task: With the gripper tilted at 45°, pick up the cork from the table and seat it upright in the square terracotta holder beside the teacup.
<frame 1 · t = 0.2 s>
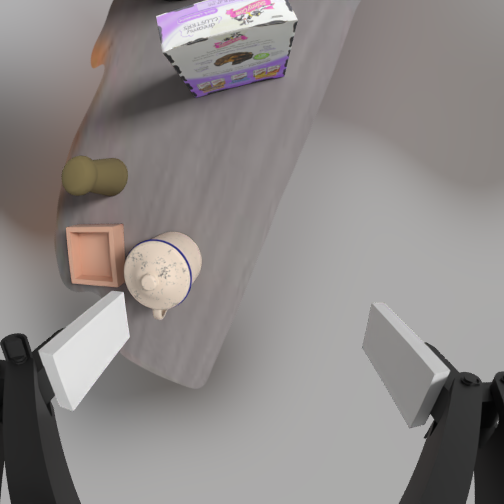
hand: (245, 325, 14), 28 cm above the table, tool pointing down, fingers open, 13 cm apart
candy box: (234, 71, 36), on the table
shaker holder: (100, 251, 42), on the table
teacup with lid: (173, 268, 43), on the table
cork: (111, 177, 40), on the table
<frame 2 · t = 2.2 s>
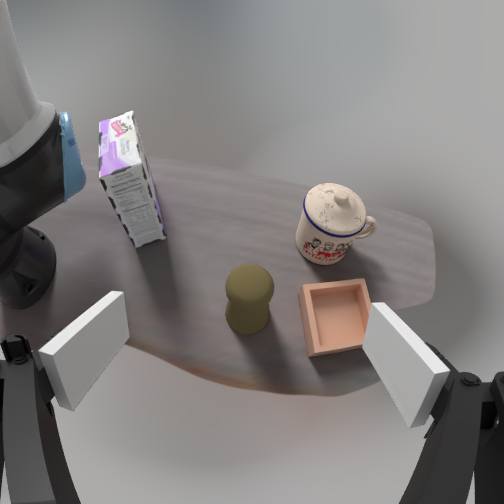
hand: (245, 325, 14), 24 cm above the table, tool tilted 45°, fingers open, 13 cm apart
candy box: (145, 212, 47), on the table
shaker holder: (334, 320, 38), on the table
teacup with lid: (329, 243, 45), on the table
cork: (247, 314, 39), on the table
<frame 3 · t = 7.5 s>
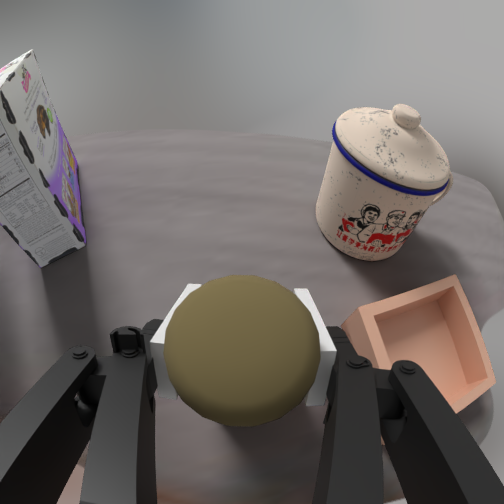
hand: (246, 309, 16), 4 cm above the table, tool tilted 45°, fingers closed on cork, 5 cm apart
candy box: (60, 209, 25), on the table
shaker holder: (412, 363, 17), on the table
teacup with lid: (374, 222, 24), on the table
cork: (244, 381, 17), on the table, touching gripper
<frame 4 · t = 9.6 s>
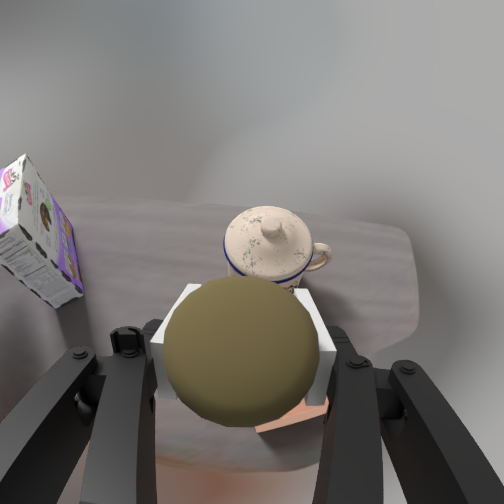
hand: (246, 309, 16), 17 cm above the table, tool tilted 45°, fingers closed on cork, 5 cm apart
candy box: (63, 265, 36), on the table
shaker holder: (285, 382, 29), on the table
teacup with lid: (275, 280, 36), on the table
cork: (244, 381, 17), point 13 cm above the table, touching gripper
when the fingers open (6 cm above the table, at t = 12.0 s): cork drops 1 cm, resting on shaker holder.
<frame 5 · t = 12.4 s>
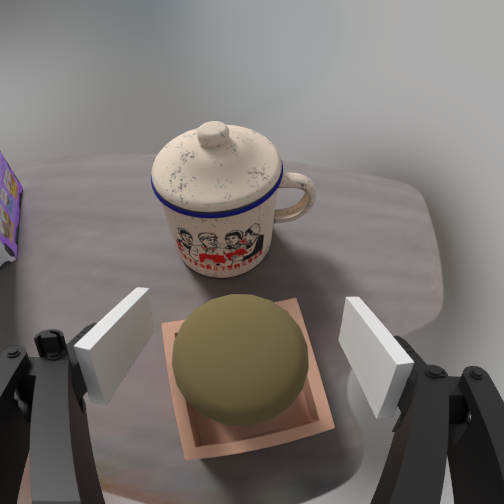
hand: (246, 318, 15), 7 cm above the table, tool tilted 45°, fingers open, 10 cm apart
candy box: (6, 229, 27), on the table
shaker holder: (244, 384, 19), on the table
teacup with lid: (239, 237, 26), on the table
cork: (243, 384, 18), point 1 cm above the table, touching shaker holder
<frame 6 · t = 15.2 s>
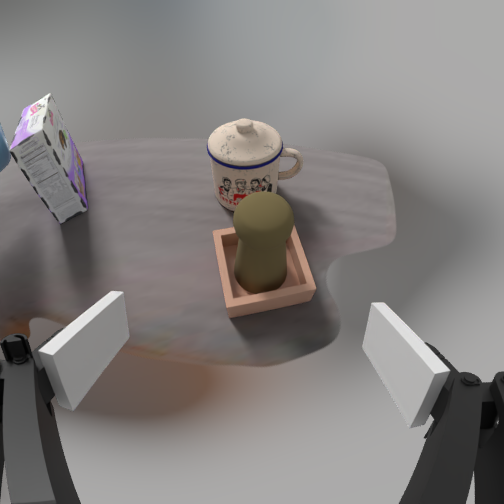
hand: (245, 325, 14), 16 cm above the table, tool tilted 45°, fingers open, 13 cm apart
candy box: (72, 191, 41), on the table
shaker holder: (261, 273, 33), on the table
teacup with lid: (256, 191, 40), on the table
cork: (260, 270, 32), point 1 cm above the table, touching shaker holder
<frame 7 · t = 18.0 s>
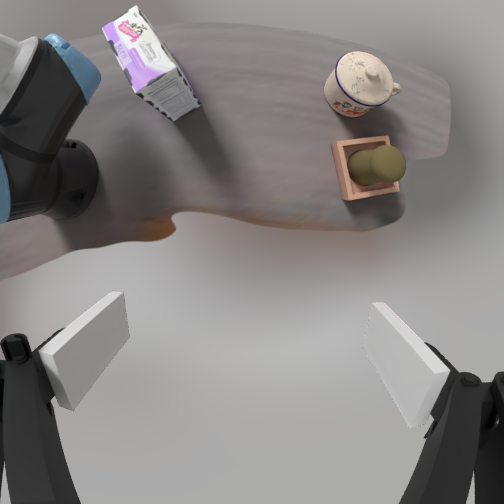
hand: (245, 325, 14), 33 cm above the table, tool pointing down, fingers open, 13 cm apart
candy box: (170, 84, 41), on the table
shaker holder: (362, 167, 43), on the table
teacup with lid: (355, 95, 41), on the table
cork: (363, 167, 43), point 1 cm above the table, touching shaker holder
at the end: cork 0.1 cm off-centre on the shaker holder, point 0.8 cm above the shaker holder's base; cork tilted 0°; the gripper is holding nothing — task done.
